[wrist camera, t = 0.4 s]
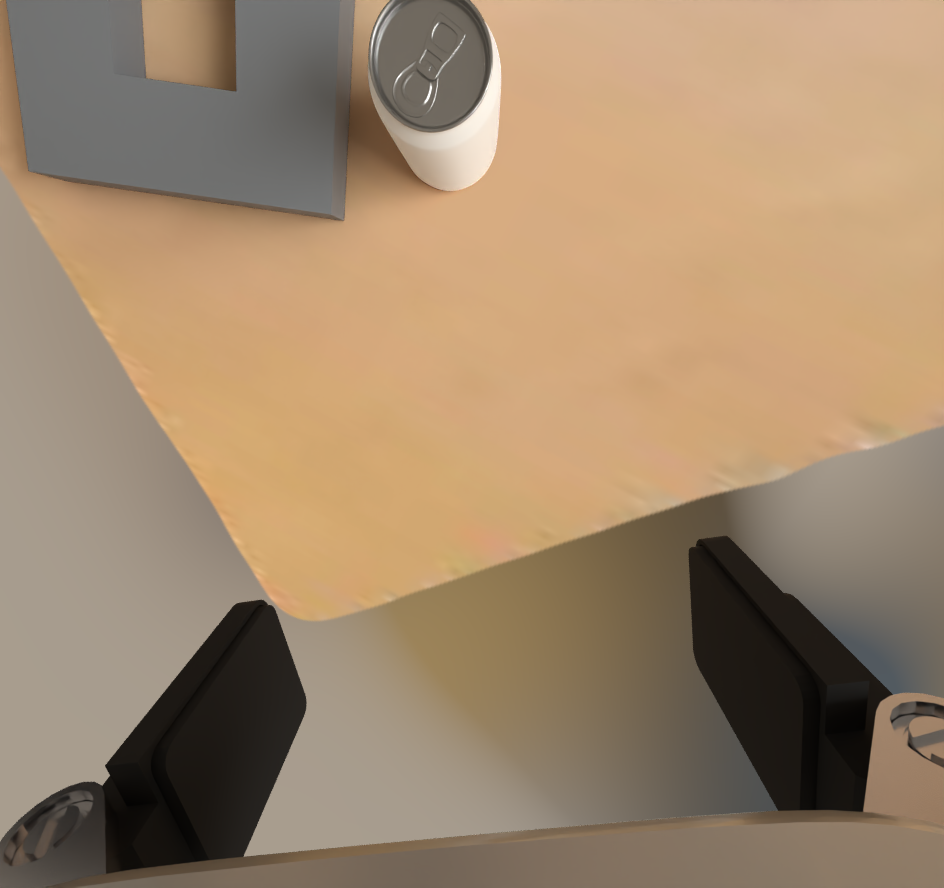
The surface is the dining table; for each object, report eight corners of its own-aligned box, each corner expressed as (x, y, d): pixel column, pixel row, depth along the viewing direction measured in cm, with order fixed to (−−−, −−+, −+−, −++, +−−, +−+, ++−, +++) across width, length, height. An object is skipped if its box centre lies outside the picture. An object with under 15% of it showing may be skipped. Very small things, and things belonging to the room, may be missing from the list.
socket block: (24, -196, 28) (-27, -249, 26) (361, -144, 29) (347, -193, 26) (66, 181, 34) (28, 171, 32) (344, 220, 35) (331, 214, 32)
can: (385, 154, 33) (332, 82, 22) (437, 62, 32) (408, -68, 20) (462, 212, 34) (449, 173, 23) (516, 126, 33) (532, 37, 21)
